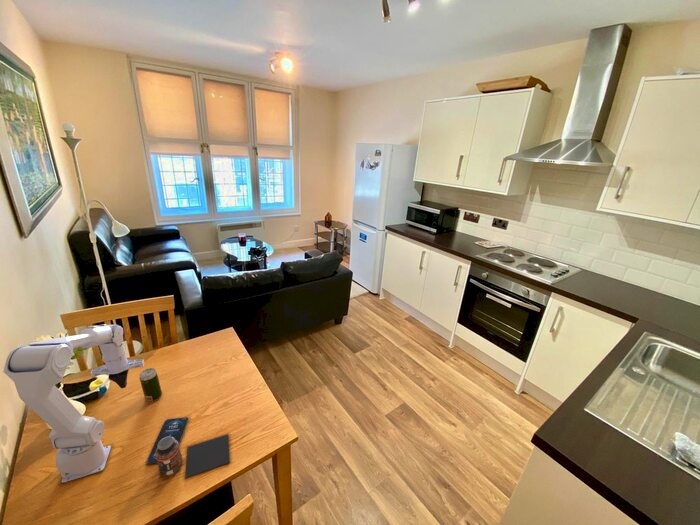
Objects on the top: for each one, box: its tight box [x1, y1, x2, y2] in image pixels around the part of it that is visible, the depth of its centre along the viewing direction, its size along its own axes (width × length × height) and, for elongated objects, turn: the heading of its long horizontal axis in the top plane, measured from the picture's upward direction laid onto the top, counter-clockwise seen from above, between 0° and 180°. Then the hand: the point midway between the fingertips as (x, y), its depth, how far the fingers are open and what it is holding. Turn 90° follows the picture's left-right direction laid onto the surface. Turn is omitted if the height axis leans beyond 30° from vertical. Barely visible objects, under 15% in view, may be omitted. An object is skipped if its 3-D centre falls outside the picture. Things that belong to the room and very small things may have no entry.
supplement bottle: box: [155, 436, 183, 477], centre depth 84 cm, size 6×6×11 cm
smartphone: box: [146, 416, 189, 465], centre depth 94 cm, size 8×1×15 cm
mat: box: [185, 434, 231, 479], centre depth 90 cm, size 12×10×1 cm
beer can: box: [139, 367, 163, 403], centre depth 107 cm, size 5×5×12 cm
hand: (123, 386), depth 103 cm, fingers closed
